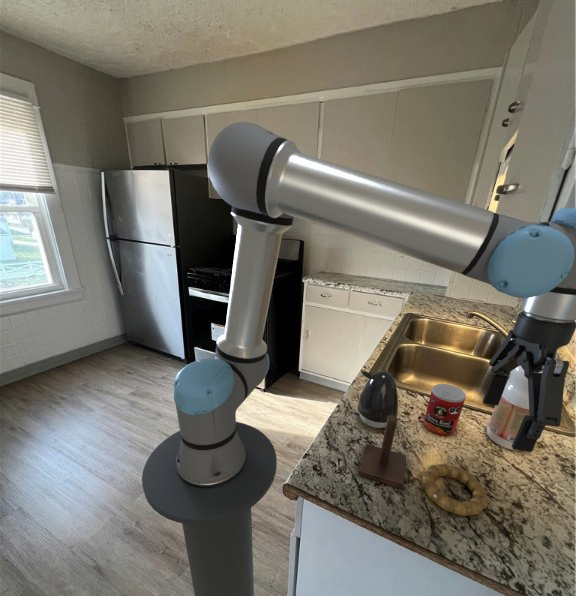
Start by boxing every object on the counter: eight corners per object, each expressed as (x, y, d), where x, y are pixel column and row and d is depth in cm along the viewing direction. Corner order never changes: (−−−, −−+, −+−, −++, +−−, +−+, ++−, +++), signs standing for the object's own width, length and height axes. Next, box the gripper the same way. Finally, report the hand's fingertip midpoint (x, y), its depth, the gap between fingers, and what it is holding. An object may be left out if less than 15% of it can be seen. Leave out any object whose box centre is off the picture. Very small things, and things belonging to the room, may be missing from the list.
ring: (420, 504, 61) (422, 496, 60) (421, 463, 71) (423, 455, 70) (488, 527, 57) (493, 518, 56) (480, 480, 67) (483, 472, 66)
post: (358, 475, 67) (366, 425, 62) (365, 448, 75) (373, 401, 69) (401, 489, 64) (415, 438, 59) (404, 459, 72) (416, 411, 66)
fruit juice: (477, 433, 81) (513, 332, 69) (499, 423, 85) (536, 326, 73) (515, 456, 74) (563, 349, 62) (536, 444, 78) (586, 341, 66)
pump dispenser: (360, 406, 90) (367, 359, 84) (397, 416, 87) (407, 368, 80) (351, 426, 82) (358, 376, 76) (391, 438, 78) (403, 386, 72)
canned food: (418, 427, 83) (427, 391, 78) (429, 413, 88) (438, 380, 83) (449, 440, 78) (461, 404, 73) (458, 425, 84) (469, 390, 79)
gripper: (639, 351, 38) (566, 479, 47) (534, 297, 60) (498, 391, 69) (569, 344, 39) (511, 471, 48) (491, 294, 61) (462, 387, 70)
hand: (504, 424), depth 58 cm, fingers open, 13 cm apart
